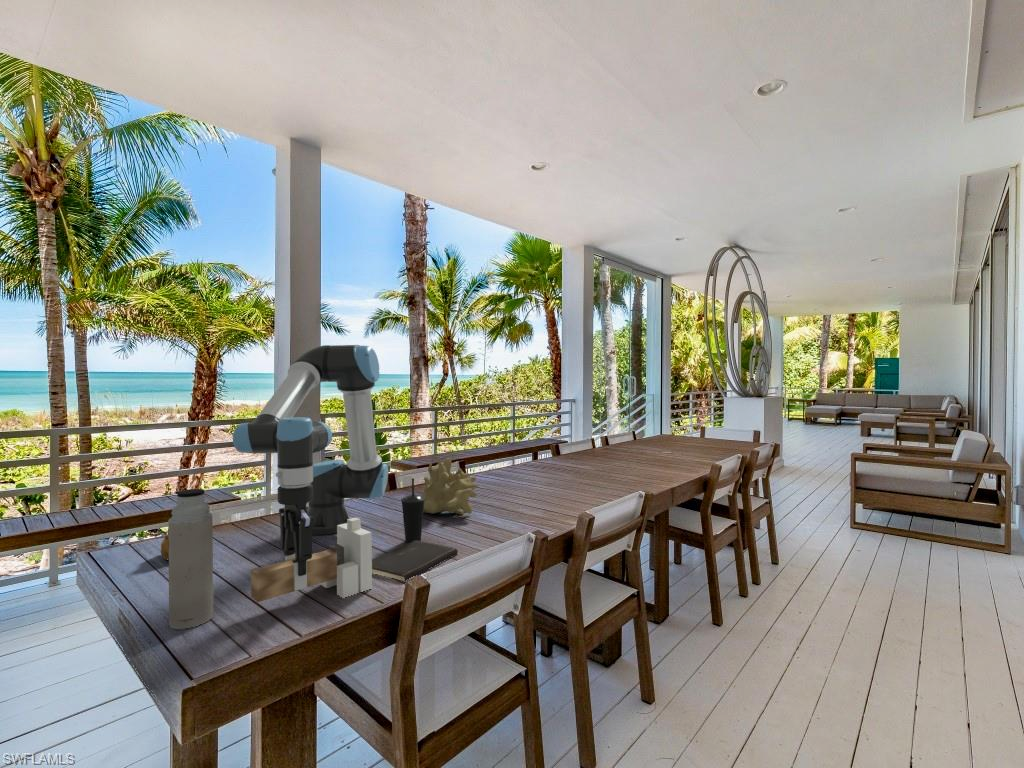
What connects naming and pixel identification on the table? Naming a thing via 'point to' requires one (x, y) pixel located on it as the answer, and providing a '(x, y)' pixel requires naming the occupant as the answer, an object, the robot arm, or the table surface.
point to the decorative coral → (448, 489)
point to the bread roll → (165, 548)
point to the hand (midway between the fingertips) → (296, 585)
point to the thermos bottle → (190, 561)
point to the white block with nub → (353, 559)
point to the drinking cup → (413, 515)
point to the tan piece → (281, 574)
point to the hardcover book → (411, 559)
